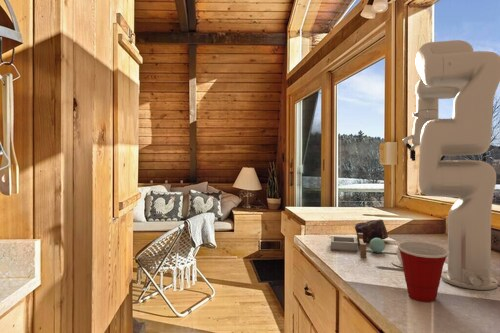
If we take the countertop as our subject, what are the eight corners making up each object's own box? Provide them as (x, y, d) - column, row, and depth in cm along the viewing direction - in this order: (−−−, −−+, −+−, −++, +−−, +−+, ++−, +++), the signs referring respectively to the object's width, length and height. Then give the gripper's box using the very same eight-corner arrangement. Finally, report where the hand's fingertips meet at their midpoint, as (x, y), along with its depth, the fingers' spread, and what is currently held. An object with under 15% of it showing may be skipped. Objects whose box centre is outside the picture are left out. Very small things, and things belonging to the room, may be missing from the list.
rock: (357, 241, 144) (357, 246, 134) (354, 220, 144) (353, 224, 134) (388, 238, 140) (390, 243, 130) (384, 216, 140) (386, 220, 131)
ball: (385, 254, 119) (385, 240, 119) (370, 253, 120) (370, 239, 120) (384, 251, 123) (384, 236, 123) (368, 250, 125) (368, 236, 125)
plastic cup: (412, 308, 77) (413, 253, 76) (388, 289, 87) (389, 241, 87) (460, 306, 77) (460, 251, 77) (431, 288, 88) (431, 240, 88)
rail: (366, 257, 115) (366, 244, 115) (360, 257, 116) (360, 244, 115) (362, 245, 132) (362, 233, 132) (357, 244, 133) (357, 233, 132)
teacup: (431, 271, 102) (432, 255, 102) (395, 269, 104) (395, 253, 104) (422, 261, 112) (422, 246, 112) (388, 259, 114) (388, 245, 114)
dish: (357, 251, 123) (357, 243, 123) (330, 250, 125) (330, 241, 125) (356, 245, 131) (356, 237, 131) (331, 244, 134) (331, 236, 134)
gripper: (404, 115, 134) (404, 160, 134) (455, 113, 129) (455, 160, 130) (401, 117, 141) (401, 160, 141) (449, 116, 137) (449, 160, 137)
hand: (427, 160), depth 136 cm, fingers open, 9 cm apart
